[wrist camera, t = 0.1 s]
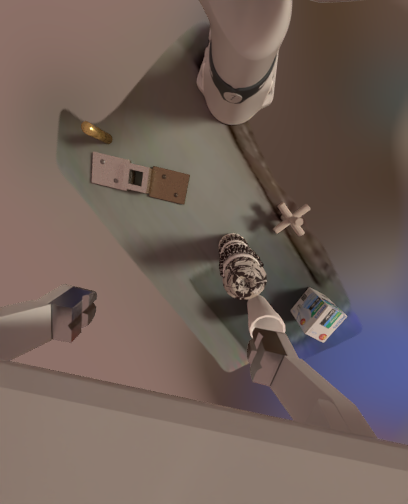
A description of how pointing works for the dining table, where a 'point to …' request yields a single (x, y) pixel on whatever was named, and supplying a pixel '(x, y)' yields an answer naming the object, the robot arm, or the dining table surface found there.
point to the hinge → (153, 181)
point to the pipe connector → (291, 219)
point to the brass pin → (96, 132)
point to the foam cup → (263, 316)
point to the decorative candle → (240, 268)
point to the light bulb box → (317, 315)
